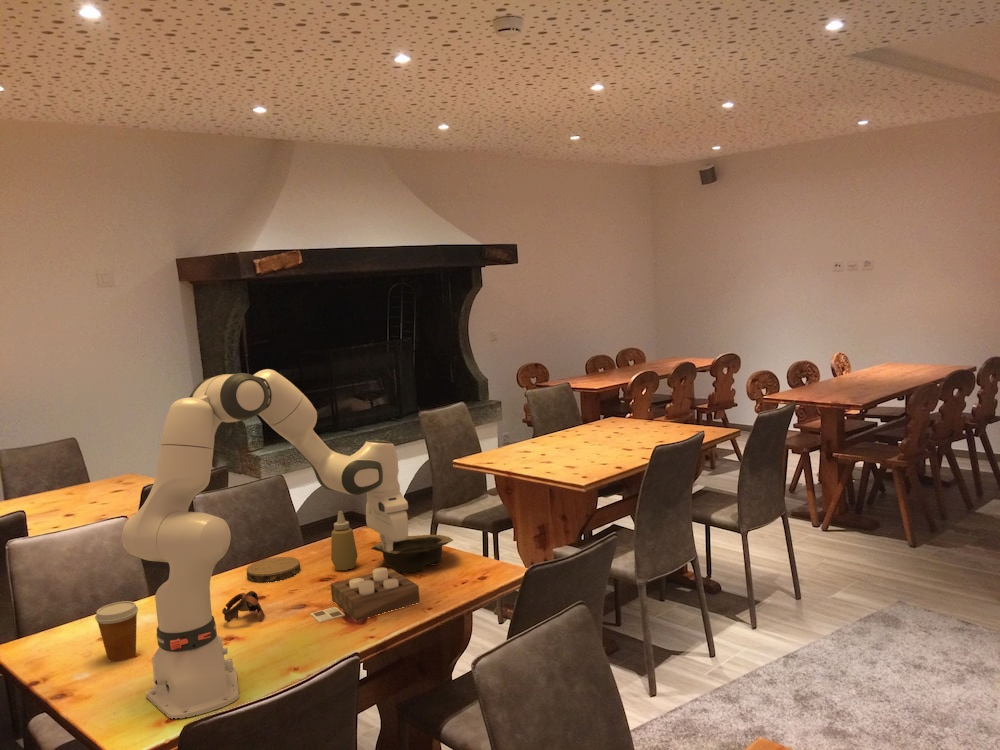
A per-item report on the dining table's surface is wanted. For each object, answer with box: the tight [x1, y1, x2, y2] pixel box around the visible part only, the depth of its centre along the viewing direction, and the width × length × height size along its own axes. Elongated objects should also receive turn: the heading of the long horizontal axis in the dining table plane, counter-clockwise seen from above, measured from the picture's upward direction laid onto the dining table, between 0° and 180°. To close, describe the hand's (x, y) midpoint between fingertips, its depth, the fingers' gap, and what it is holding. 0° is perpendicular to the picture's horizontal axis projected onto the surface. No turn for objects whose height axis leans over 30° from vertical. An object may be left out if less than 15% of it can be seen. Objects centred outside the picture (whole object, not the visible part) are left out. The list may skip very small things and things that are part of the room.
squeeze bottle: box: [330, 510, 358, 571], centre depth 251 cm, size 8×8×18 cm
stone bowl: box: [371, 534, 454, 574], centre depth 251 cm, size 25×25×9 cm
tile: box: [310, 606, 346, 624], centre depth 215 cm, size 7×7×1 cm
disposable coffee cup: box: [94, 600, 139, 662], centre depth 198 cm, size 10×10×12 cm
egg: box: [349, 577, 364, 589], centre depth 223 cm, size 4×4×5 cm
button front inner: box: [358, 580, 375, 596], centre depth 217 cm, size 4×4×5 cm
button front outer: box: [383, 579, 399, 590], centre depth 220 cm, size 4×4×5 cm
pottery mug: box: [221, 590, 266, 623], centre depth 216 cm, size 12×10×8 cm
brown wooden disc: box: [245, 556, 301, 584], centre depth 252 cm, size 16×16×3 cm
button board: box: [330, 568, 421, 622], centre depth 222 cm, size 18×18×5 cm
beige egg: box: [372, 567, 388, 583], centre depth 226 cm, size 4×4×5 cm
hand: (387, 550), depth 219 cm, fingers closed
